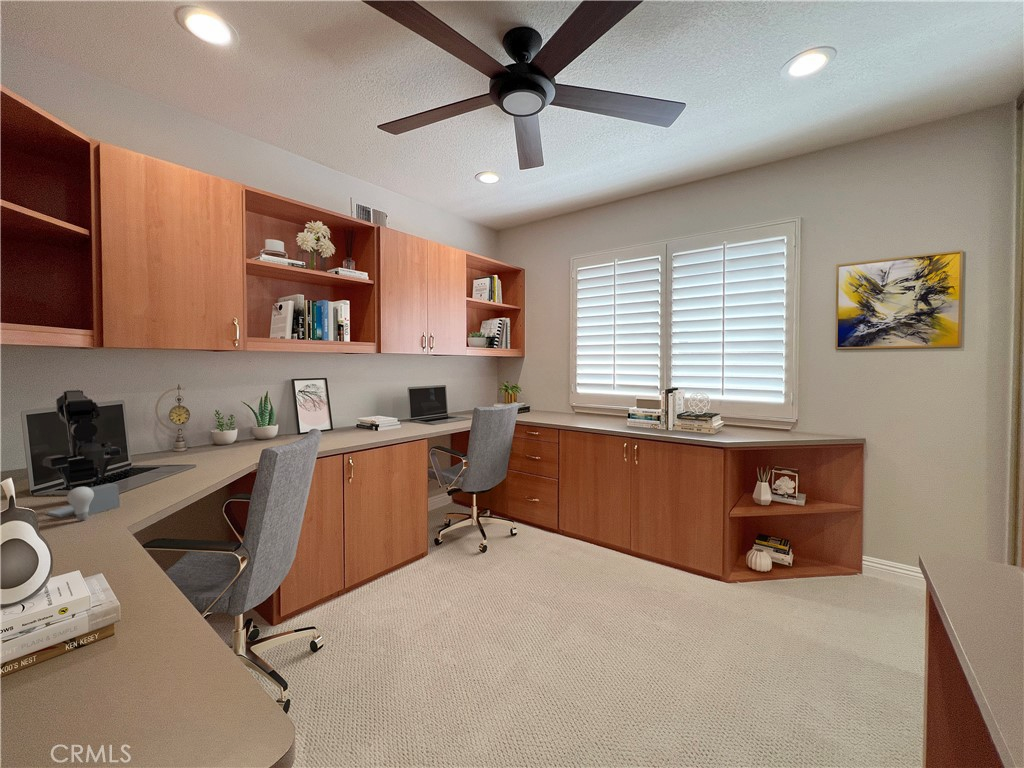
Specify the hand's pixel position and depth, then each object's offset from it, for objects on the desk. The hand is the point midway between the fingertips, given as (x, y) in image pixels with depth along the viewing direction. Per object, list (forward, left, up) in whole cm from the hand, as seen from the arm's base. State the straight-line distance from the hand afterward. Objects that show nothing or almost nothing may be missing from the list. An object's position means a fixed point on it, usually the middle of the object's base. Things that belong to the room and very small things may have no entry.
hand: (85, 480), depth 147 cm
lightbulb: (+12, -7, -10) cm, 17 cm away
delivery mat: (-3, -3, -10) cm, 11 cm away
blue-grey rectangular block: (+6, 0, -10) cm, 11 cm away
